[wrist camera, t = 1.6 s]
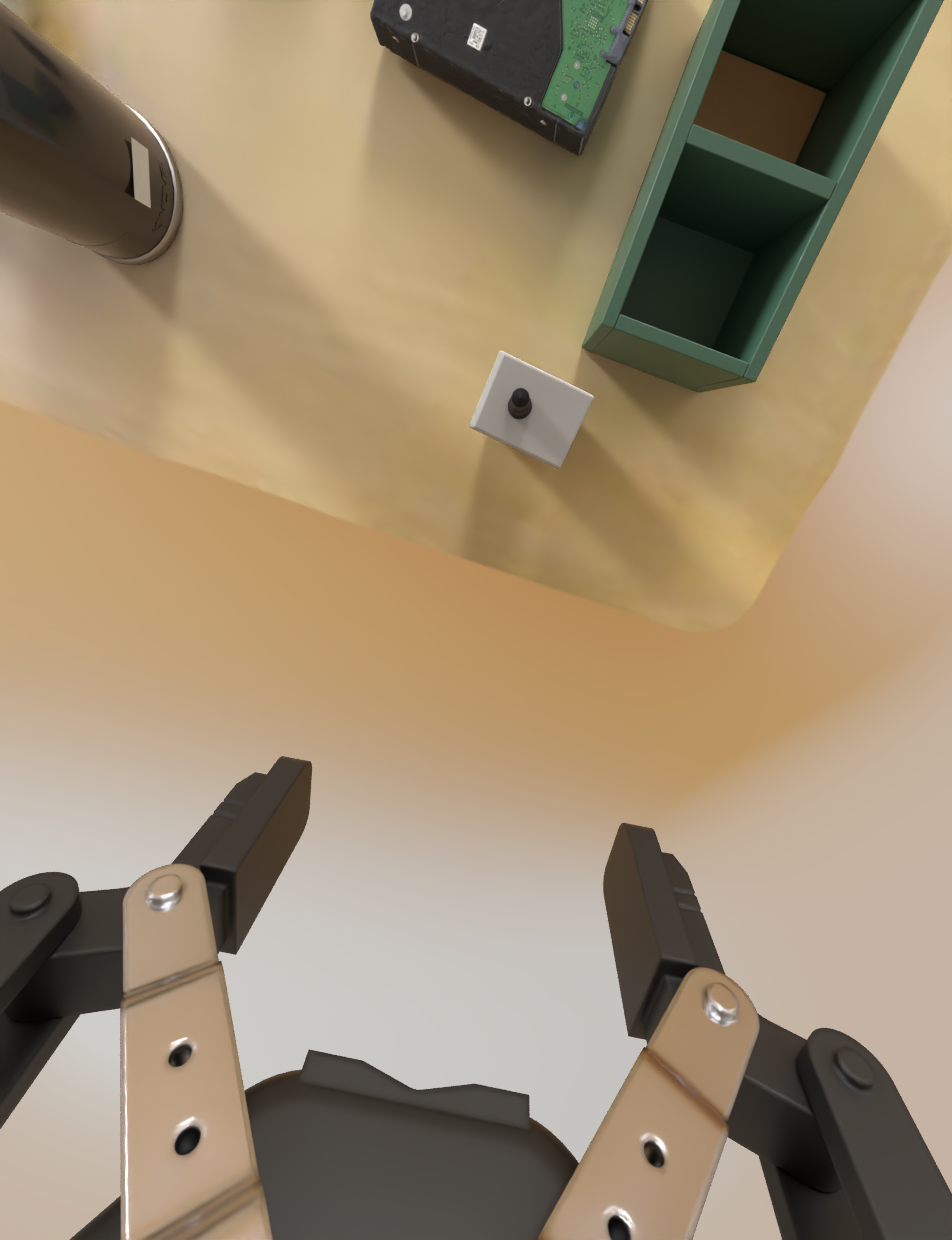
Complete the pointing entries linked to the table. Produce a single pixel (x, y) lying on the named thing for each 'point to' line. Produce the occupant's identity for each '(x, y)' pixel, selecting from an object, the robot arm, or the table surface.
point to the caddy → (750, 180)
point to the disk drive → (518, 54)
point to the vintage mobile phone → (530, 410)
